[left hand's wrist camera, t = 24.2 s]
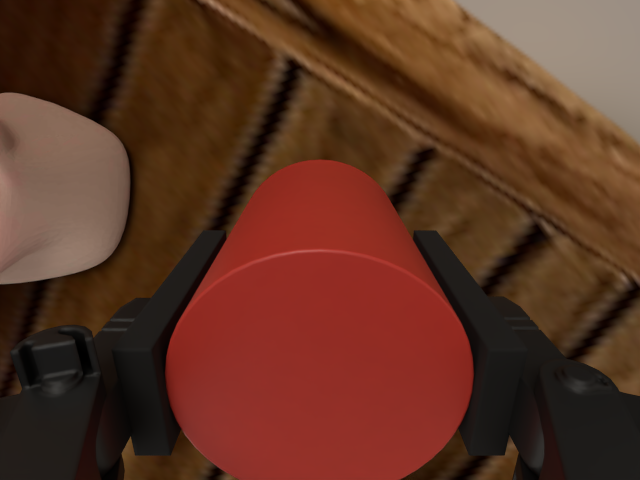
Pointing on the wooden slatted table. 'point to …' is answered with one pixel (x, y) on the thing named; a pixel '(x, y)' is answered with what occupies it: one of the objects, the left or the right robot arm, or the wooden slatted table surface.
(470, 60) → the wooden slatted table surface
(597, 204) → the wooden slatted table surface
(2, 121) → the anatomical model
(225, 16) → the wooden slatted table surface
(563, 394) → the left robot arm
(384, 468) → the cylinder
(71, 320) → the wooden slatted table surface
